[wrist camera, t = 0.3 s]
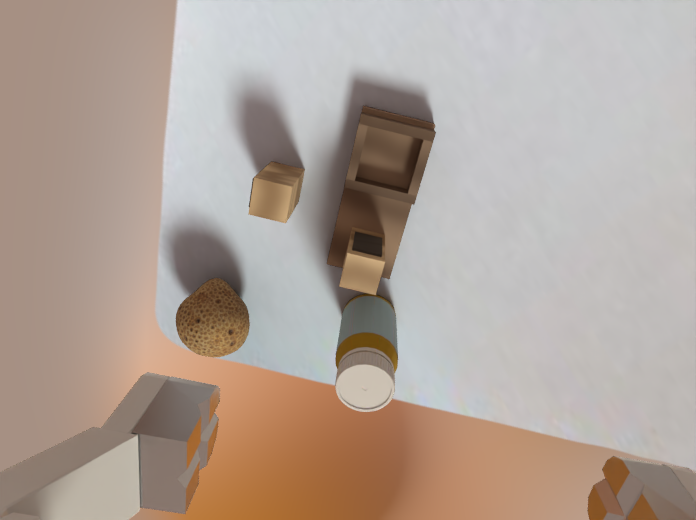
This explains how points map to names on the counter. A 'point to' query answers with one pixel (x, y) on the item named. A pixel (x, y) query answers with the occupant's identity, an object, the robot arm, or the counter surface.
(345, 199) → the wooden block holder
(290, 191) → the block
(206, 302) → the natural sponge
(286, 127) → the counter surface
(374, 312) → the bottle
